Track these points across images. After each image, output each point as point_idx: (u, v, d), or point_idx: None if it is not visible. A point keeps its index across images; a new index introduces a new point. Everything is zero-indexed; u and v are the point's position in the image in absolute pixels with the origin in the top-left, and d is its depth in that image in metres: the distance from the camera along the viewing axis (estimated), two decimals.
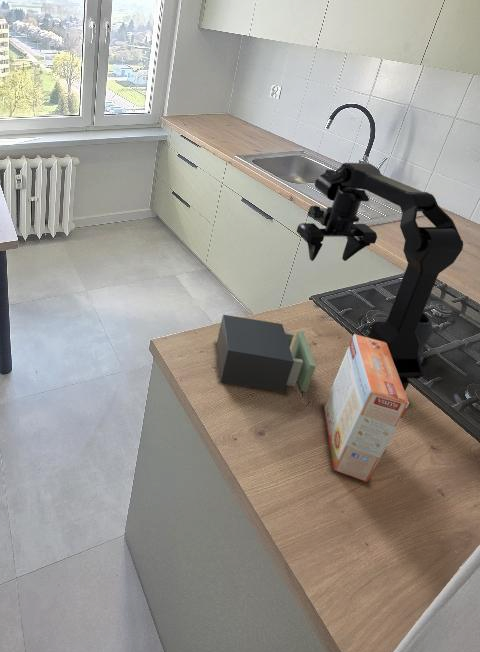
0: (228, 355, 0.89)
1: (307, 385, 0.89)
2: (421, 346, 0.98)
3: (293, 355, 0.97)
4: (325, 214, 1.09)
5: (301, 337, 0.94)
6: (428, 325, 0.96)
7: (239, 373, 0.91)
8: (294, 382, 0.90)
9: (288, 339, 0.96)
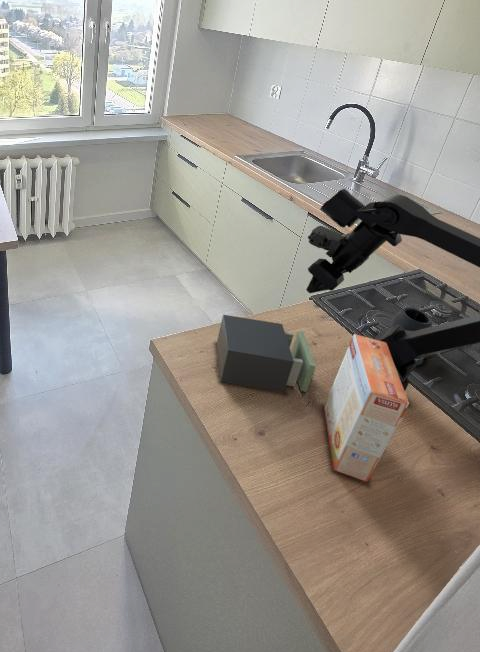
0: (228, 355, 0.89)
1: (307, 385, 0.89)
2: None
3: (293, 355, 0.97)
4: (336, 246, 0.91)
5: (301, 337, 0.94)
6: (428, 325, 0.96)
7: (239, 373, 0.91)
8: (294, 382, 0.90)
9: (288, 339, 0.96)
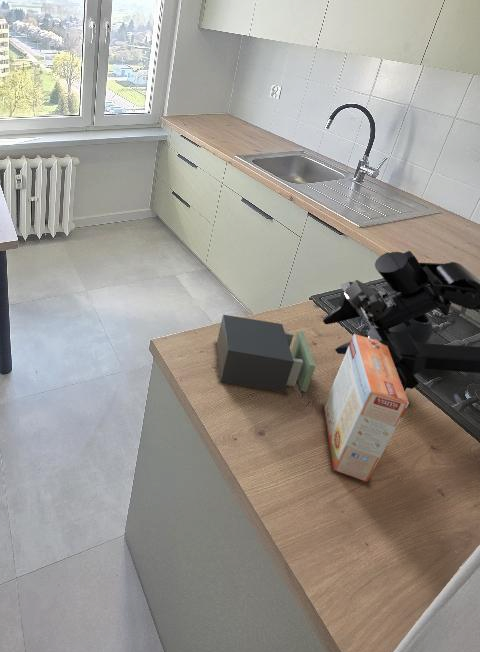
0: (228, 355, 0.89)
1: (307, 385, 0.89)
2: None
3: (293, 355, 0.97)
4: (387, 311, 0.82)
5: (301, 337, 0.94)
6: (428, 325, 0.96)
7: (239, 373, 0.91)
8: (294, 382, 0.90)
9: (288, 339, 0.96)
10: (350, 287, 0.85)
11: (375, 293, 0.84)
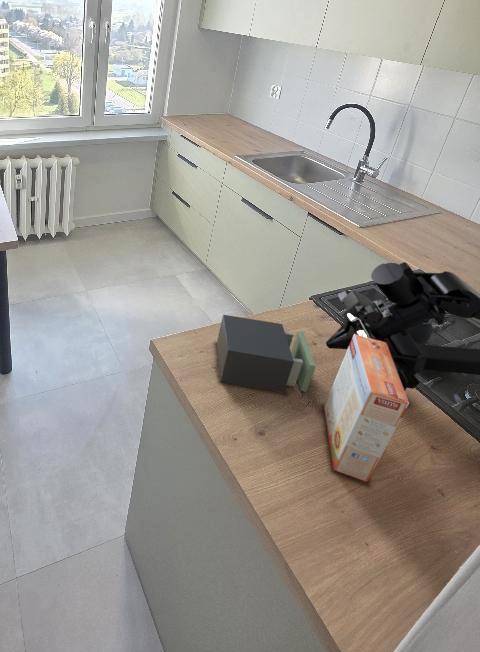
0: (228, 355, 0.89)
1: (307, 385, 0.89)
2: None
3: (293, 355, 0.97)
4: (383, 321, 0.83)
5: (301, 337, 0.94)
6: (428, 325, 0.96)
7: (239, 373, 0.91)
8: (294, 382, 0.90)
9: (288, 339, 0.96)
10: (347, 297, 0.86)
11: (371, 303, 0.85)
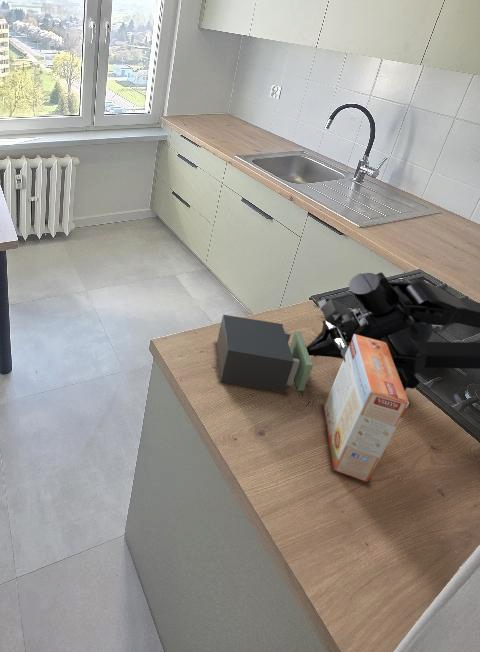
0: (228, 355, 0.89)
1: (304, 384, 0.89)
2: None
3: None
4: (359, 329, 0.84)
5: (298, 337, 0.94)
6: (428, 325, 0.96)
7: (239, 373, 0.91)
8: (291, 381, 0.91)
9: None
10: (325, 305, 0.88)
11: (349, 311, 0.87)
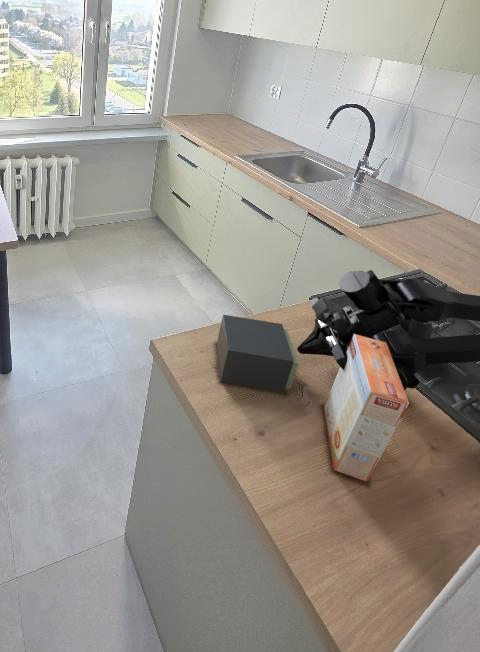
0: (228, 355, 0.89)
1: (290, 382, 0.90)
2: None
3: None
4: (350, 327, 0.84)
5: (285, 334, 0.95)
6: (428, 325, 0.96)
7: (239, 373, 0.91)
8: None
9: None
10: (316, 304, 0.88)
11: (340, 309, 0.87)
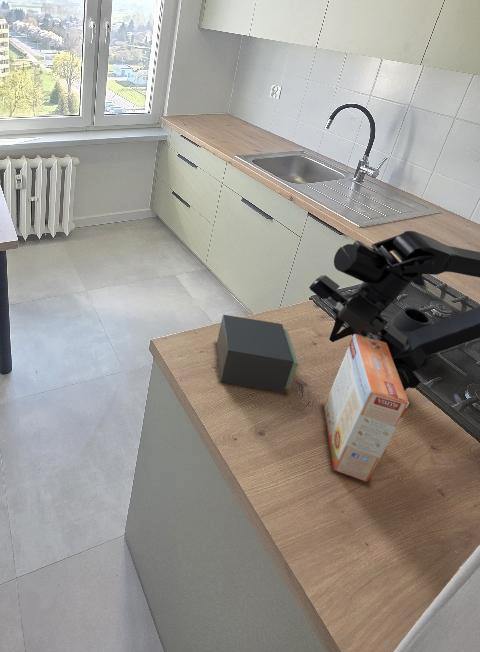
0: (228, 355, 0.89)
1: (290, 382, 0.90)
2: None
3: None
4: (380, 312, 0.80)
5: (285, 334, 0.95)
6: None
7: (239, 373, 0.91)
8: None
9: None
10: (345, 316, 0.80)
11: (361, 301, 0.81)
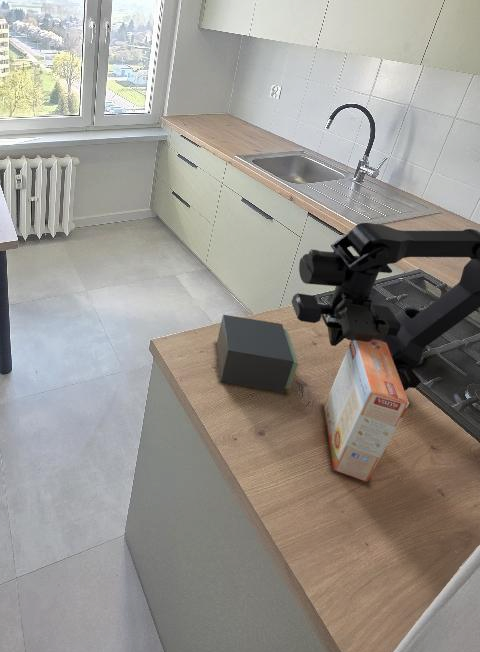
0: (228, 355, 0.89)
1: (290, 382, 0.90)
2: None
3: None
4: None
5: (285, 334, 0.95)
6: None
7: (239, 373, 0.91)
8: None
9: None
10: (353, 337, 0.77)
11: (354, 311, 0.79)
